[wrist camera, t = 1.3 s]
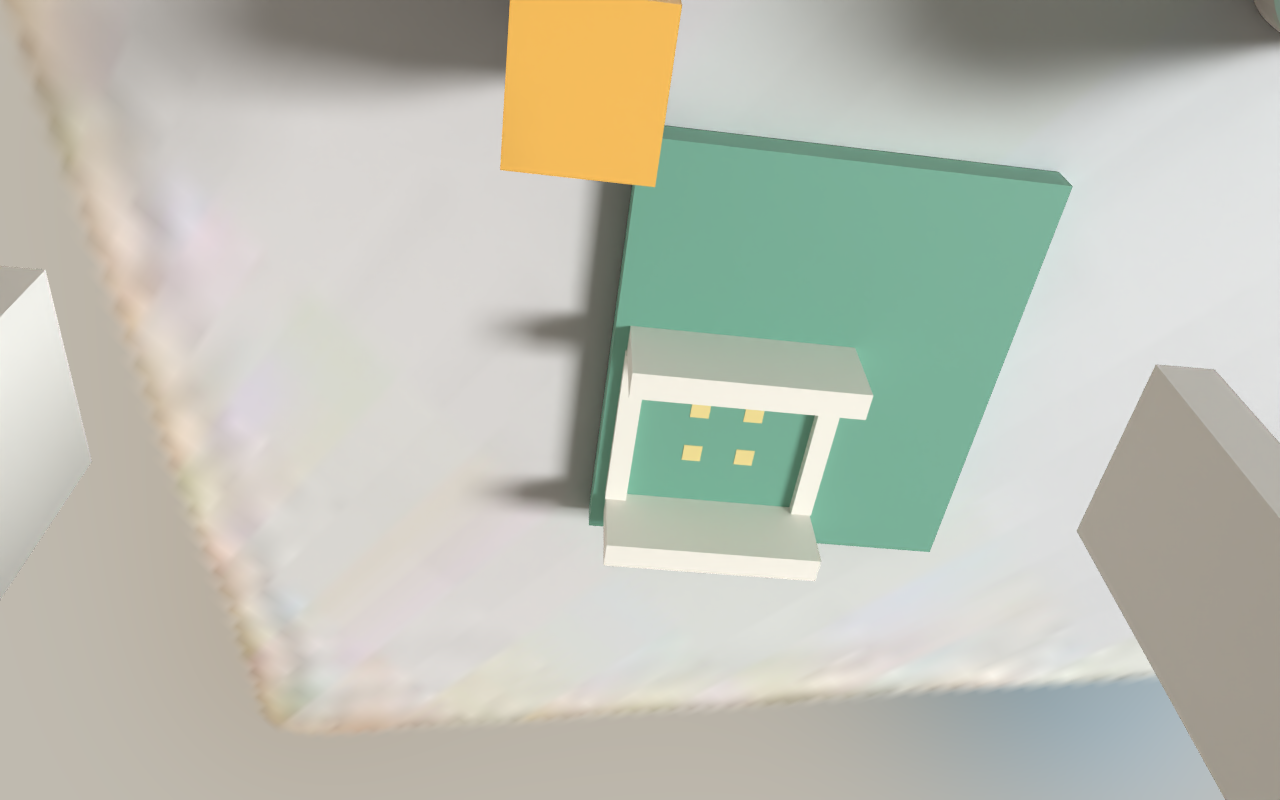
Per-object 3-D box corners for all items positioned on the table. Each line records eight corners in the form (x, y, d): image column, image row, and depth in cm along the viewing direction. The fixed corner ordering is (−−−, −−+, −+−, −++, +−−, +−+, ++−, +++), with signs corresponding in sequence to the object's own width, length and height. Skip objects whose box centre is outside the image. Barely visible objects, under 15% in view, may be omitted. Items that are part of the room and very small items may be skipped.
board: (640, 122, 33) (645, 174, 29) (1058, 172, 34) (1110, 226, 31) (589, 505, 42) (587, 579, 38) (922, 532, 43) (949, 605, 39)
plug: (536, -100, 29) (510, -18, 21) (658, -83, 29) (682, 5, 21) (525, 64, 31) (498, 194, 23) (638, 78, 32) (651, 211, 24)
